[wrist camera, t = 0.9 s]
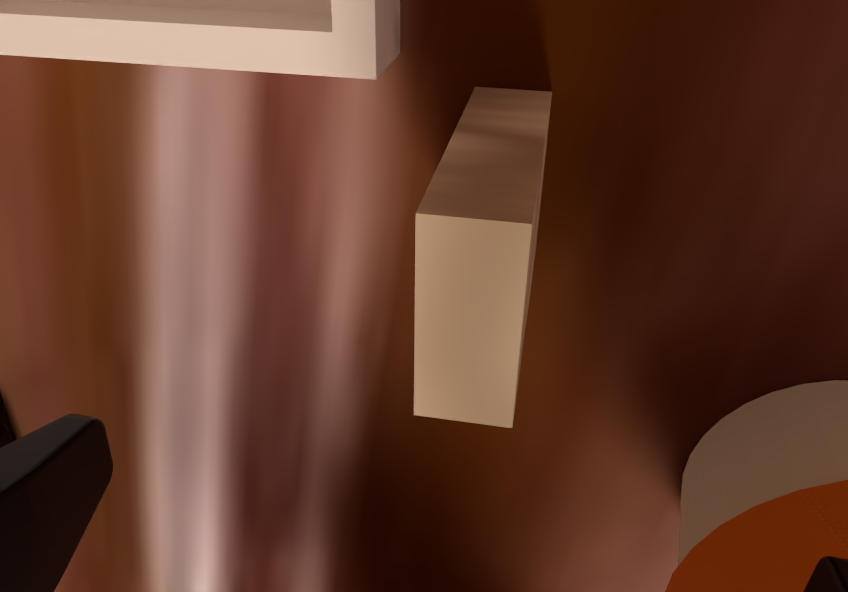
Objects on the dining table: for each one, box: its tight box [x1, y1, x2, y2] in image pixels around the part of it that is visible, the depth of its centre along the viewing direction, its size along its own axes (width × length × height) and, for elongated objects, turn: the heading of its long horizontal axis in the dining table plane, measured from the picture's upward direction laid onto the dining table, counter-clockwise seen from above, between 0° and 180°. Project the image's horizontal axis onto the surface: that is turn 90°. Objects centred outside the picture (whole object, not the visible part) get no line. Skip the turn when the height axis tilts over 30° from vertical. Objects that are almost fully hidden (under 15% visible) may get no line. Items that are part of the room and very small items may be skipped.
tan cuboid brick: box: [414, 87, 552, 428], centre depth 17 cm, size 2×4×8 cm, turn 0°
